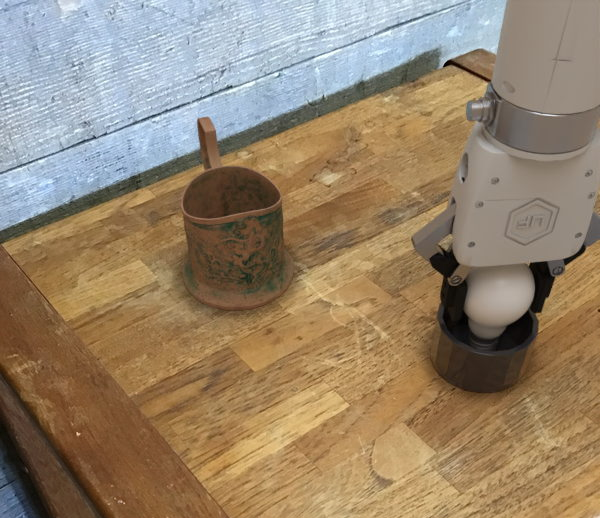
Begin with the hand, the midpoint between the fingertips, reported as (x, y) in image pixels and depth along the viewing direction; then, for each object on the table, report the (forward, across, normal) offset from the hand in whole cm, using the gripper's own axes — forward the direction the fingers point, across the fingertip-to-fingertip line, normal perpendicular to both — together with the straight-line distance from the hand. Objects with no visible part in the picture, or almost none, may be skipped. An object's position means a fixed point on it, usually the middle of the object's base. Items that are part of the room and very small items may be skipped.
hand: (492, 304), depth 64 cm
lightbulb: (+6, 0, 0) cm, 6 cm away
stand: (+7, 0, 0) cm, 7 cm away
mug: (+7, -22, +18) cm, 29 cm away
